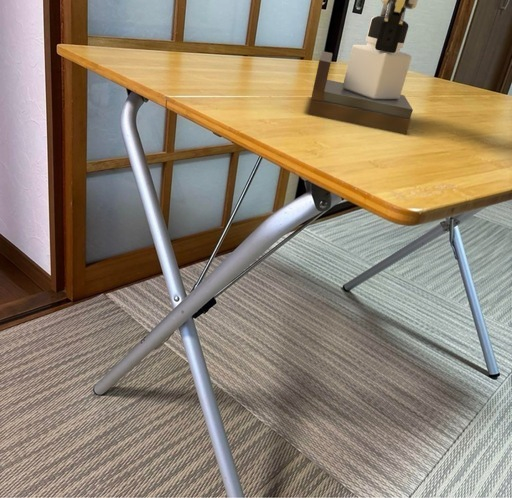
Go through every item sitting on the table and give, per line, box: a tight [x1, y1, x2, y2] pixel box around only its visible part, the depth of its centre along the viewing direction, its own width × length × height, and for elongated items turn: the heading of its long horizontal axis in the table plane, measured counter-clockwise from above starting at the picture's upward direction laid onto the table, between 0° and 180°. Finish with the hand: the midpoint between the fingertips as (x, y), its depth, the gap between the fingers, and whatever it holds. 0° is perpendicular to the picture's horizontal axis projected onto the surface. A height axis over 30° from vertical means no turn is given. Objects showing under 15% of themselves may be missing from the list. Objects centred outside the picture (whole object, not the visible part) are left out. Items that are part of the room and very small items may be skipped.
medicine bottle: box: [342, 15, 412, 99], centre depth 84 cm, size 7×7×12 cm
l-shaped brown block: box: [307, 51, 414, 135], centre depth 87 cm, size 16×14×8 cm
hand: (383, 48), depth 83 cm, fingers closed on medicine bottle, 7 cm apart
